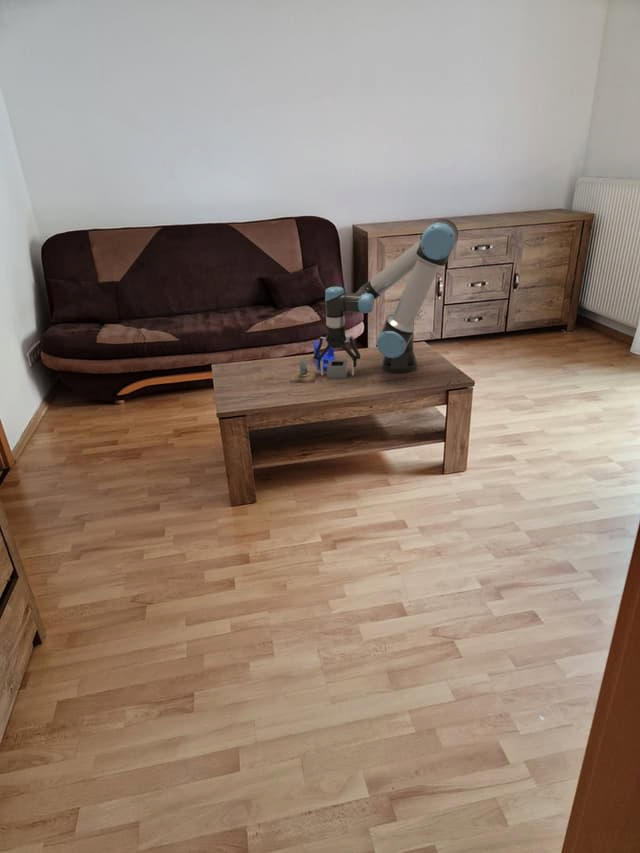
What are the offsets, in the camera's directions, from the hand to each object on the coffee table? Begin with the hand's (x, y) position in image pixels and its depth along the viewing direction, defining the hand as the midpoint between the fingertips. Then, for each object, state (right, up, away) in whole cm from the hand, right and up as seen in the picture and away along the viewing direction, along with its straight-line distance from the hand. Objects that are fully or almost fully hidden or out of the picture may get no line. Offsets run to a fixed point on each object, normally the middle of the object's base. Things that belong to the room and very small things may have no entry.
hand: (337, 374), depth 242 cm
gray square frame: (0, 0, 0) cm, 0 cm away
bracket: (-5, +5, +12) cm, 14 cm away
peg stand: (-14, -2, -1) cm, 14 cm away
